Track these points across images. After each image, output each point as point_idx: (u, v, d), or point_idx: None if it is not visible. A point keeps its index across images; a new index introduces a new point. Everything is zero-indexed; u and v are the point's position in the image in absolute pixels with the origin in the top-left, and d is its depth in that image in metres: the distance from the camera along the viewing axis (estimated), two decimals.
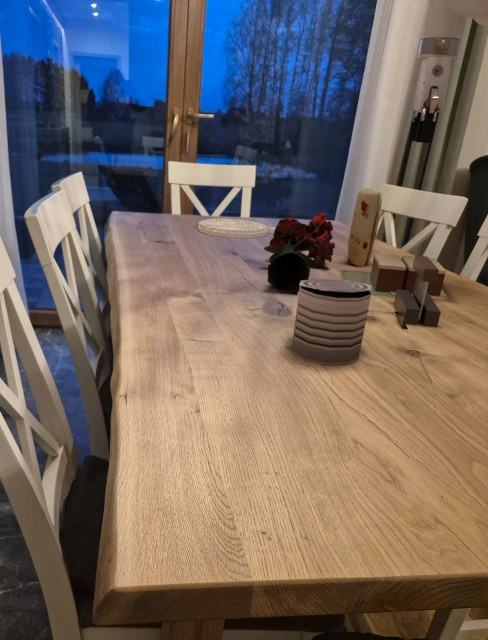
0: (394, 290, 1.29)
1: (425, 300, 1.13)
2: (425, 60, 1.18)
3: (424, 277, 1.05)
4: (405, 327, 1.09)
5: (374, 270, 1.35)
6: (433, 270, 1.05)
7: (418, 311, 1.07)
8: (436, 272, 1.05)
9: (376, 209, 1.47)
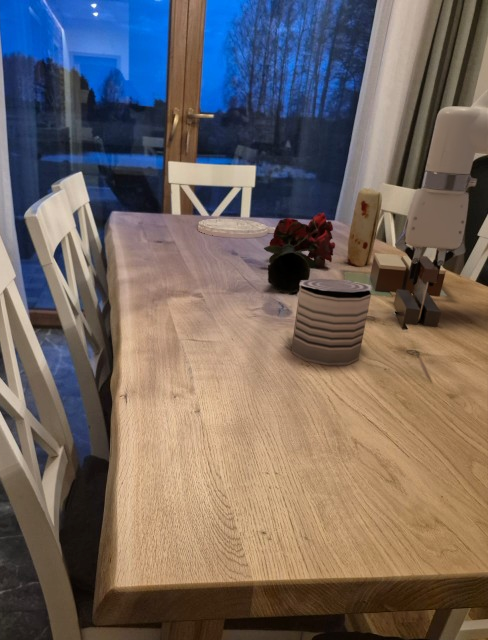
0: (394, 290, 1.29)
1: (425, 300, 1.13)
2: (456, 196, 1.02)
3: (424, 277, 1.05)
4: (405, 327, 1.09)
5: (374, 270, 1.35)
6: (433, 270, 1.05)
7: (418, 311, 1.07)
8: (436, 272, 1.05)
9: (376, 209, 1.47)
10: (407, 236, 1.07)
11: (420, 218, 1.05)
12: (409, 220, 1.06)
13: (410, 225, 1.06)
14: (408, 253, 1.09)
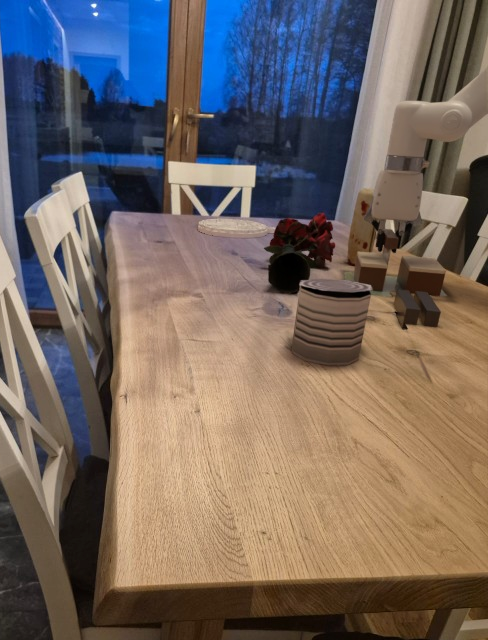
0: (376, 288, 1.30)
1: (425, 300, 1.13)
2: (412, 176, 1.22)
3: (387, 245, 1.26)
4: (405, 327, 1.09)
5: (357, 268, 1.36)
6: (394, 239, 1.25)
7: (418, 311, 1.07)
8: (396, 240, 1.25)
9: None
10: (373, 210, 1.27)
11: (383, 194, 1.25)
12: (374, 196, 1.26)
13: (375, 201, 1.26)
14: (374, 225, 1.29)
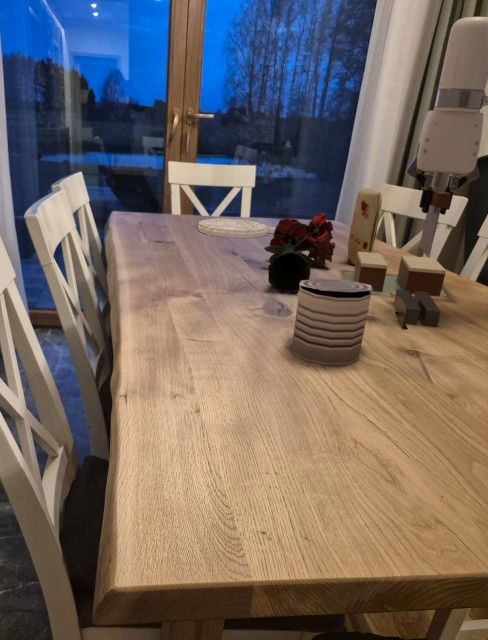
0: (376, 288, 1.30)
1: (425, 300, 1.13)
2: (470, 115, 0.98)
3: (436, 202, 1.02)
4: (405, 327, 1.09)
5: (357, 268, 1.36)
6: (446, 194, 1.01)
7: (418, 311, 1.07)
8: (449, 197, 1.01)
9: (376, 209, 1.47)
10: (419, 160, 1.03)
11: (432, 140, 1.01)
12: (421, 143, 1.02)
13: (421, 148, 1.02)
14: (419, 179, 1.05)
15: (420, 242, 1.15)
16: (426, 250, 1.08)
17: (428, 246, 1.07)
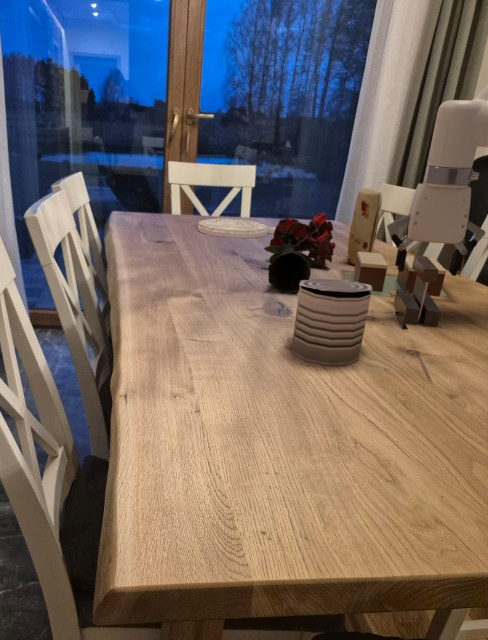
0: (376, 288, 1.30)
1: (425, 300, 1.13)
2: (459, 191, 1.02)
3: (424, 277, 1.05)
4: (405, 327, 1.09)
5: (357, 268, 1.36)
6: (433, 270, 1.05)
7: (418, 311, 1.07)
8: (436, 272, 1.05)
9: (376, 209, 1.47)
10: (410, 231, 1.06)
11: (422, 213, 1.04)
12: (411, 215, 1.06)
13: (412, 220, 1.06)
14: (394, 240, 1.09)
15: None
16: None
17: None
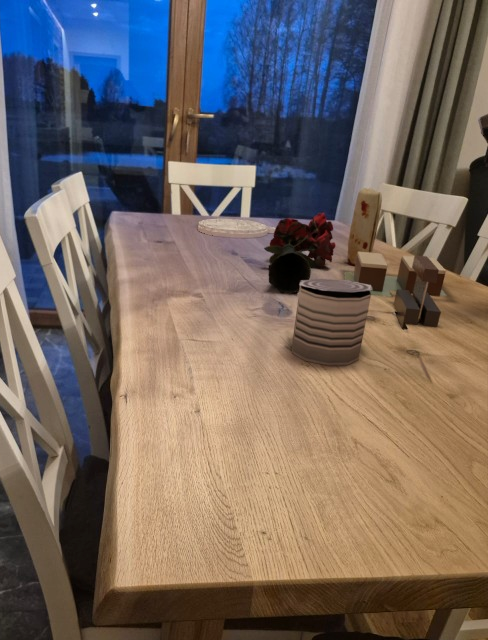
0: (376, 288, 1.30)
1: (425, 300, 1.13)
2: None
3: (424, 277, 1.05)
4: (405, 327, 1.09)
5: (357, 268, 1.36)
6: (433, 270, 1.05)
7: (418, 311, 1.07)
8: (436, 272, 1.05)
9: (376, 209, 1.47)
10: None
11: None
12: None
13: None
14: (486, 133, 1.06)
15: None
16: None
17: None
